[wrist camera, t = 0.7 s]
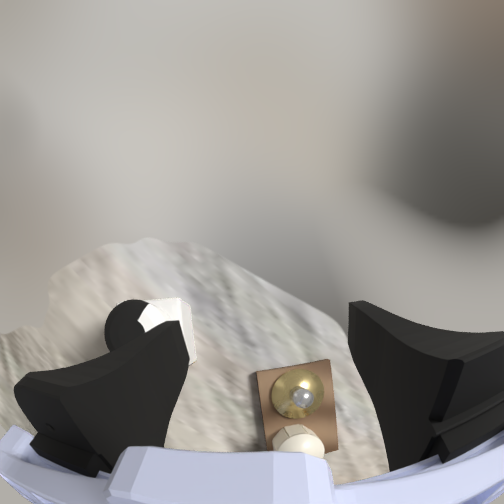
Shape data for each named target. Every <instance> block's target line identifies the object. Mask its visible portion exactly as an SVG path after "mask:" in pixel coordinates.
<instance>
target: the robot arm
mask: <svg viewBox="0 0 504 504" xmlns="http://www.w3.org/2000/svg"><path fill="white" fill-rule="evenodd" d="M348 345H349V349H350V352H351V355H352V358H353V361H354V363H355V366H356V368H357V370H358V372H359V374H360V376H361V378H362V380H363V382H364V384H365V387H366V389H367V391H368V393H369V395H370V397H371V399H372V402H373V404H374V407H375V410H376V414H377V417H378V420H379V424H380V428H381V431H382V435H383V439H384V444H385V448H386V453H387V458H388V463H389V470H390V472H388V473H385V474H382V475H378V476H375V477H371V478H367V479H363V480H359V481H355V482H350V483H345V484H340V485H334V483H333V477H332V471H331V469H330V467H329V465H328V463H327V462H326V460H324V459H321V458H318V457H315V456H312V455H309V454H306V453H303V452H289V451H262V452H207V451H191V450H180V449H170V448H164V443H165V438H166V433H167V429H168V425H169V421H170V418H171V415H172V412H173V410H174V407H175V404H176V402H177V399H178V397H179V394H180V392H181V389H182V387H183V384H184V381H185V379H186V375H187V371H188V366H189V361H190V357H189V354H188V350H187V347H186V343H185V340H184V336H183V333H182V329H181V325H180V321H179V320H174V321H165V322H163V323H161V324H159V325H157V326H155V327H154V328H152V329H150V330H149V331H147V332H145V333H144V334H142V335H141V336H139V337H137V338H136V339H134V340H132V341H130V342H129V343H127V344H125V345H123V346H122V347H120V348H118V349H116V350H114V351H112V352H110V353H108V354H105V355H103V356H101V357H98V358H96V359H93V360H90V361H87V362H84V363H81V364H78V365H74V366H70V367H66V368H61V369H55V370H48V371H38V372H29V373H27V374H26V375H25V376H24V377H23V378H22V379H21V380H20V381H19V382H18V383H17V384H16V385H15V387H14V394H15V398H16V400H17V403H18V404H19V406H20V408H21V409H22V411H23V412H24V414H25V415H26V417H27V418H28V420H29V421H30V422H31V424H32V425H33V426H34V428H35V429H36V430H37V432H38V433H37V434H36V436H35V437H34V436H33V435H32V434H30V433H29V432H27V431H26V430H24V429H22V428H20V427H18V426H16V425H12V426H11V428H10V429H9V430H8V431H7V433H6V434H5V435H4V436H3V437H2V439H1V440H0V476H1V477H2V478H3V479H4V480H5V481H6V482H7V483H9V484H10V485H11V486H12V487H13V488H14V489H15V490H16V491H17V492H18V493H20V494H21V495H22V496H23V497H25V498H26V499H27V500H29V501H30V502H32V503H33V504H489V503H490V502H492V501H493V500H495V499H496V498H497V497H499V496H500V495H501V494H503V493H504V332H503V331H501V332H486V333H470V332H469V333H468V332H456V331H449V330H443V329H437V328H433V327H429V326H425V325H421V324H418V323H415V322H412V321H410V320H407V319H404V318H402V317H399V316H397V315H395V314H392V313H390V312H388V311H386V310H384V309H382V308H379V307H377V306H375V305H373V304H371V303H368V302H366V301H356V302H350V303H349V329H348Z"/></svg>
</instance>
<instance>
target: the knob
mask: <svg viewBox="0 0 504 504" xmlns="http://www.w3.org/2000/svg"><path fill="white" fill-rule="evenodd" d="M323 397H324V386H323V383H322V381H321V379H320V378H319V377H318V376H317V375H316V374H315V373H313V372H312V371H309V370H306V369H293V370H290V371H287V372H285V373H284V374H282V375H281V376H280V377H279V378H278V379H277V380H276V382H275V384H274V385H273V388H272V393H271V398H272V402H273V405H274V407H275V408H276V410H277V411H278V412H279V413H280V414H282V415H283V416H285V417H288V418H294V419H297V418H303V417H306V416H308V415H310V414H312V413H313V412H315V411H316V410H317V409H318V407H319V406H320V405H321V403H322V400H323Z"/></svg>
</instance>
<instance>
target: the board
mask: <svg viewBox="0 0 504 504" xmlns="http://www.w3.org/2000/svg"><path fill="white" fill-rule="evenodd" d="M293 369H306V370H309V371H312V372H313V373H315V374H316V375H317V376H318V377H319V378H320V379H321V381H322V383H323V386H324V397H323V400H322V403H321V405H320V406H319V407H318V409H317V410H316V411H315V412H313V413H312V414H310V415H308V416H306V417H303V418H297V419H294V418H288V417H285V416H283V415H282V414H280V413H279V412H278V411H277V410H276V408H275V407H274V405H273V402H272V398H271V393H272V388H273V385H274V384H275V382H276V380H277V379H278V378H279V377H280V376H281V375H282V374H284V373H285V372H287V371H290V370H293ZM256 374H257V381H258V389H259V396H260V403H261V410H262V418H263V425H264V432H265V439H266V446H267V451H274V450H273V443H272V440H273V438H274V437H275V436H276V434H277V433H278V432H279V431H280V430H281V429H282V428H284V427H285V426H291V425H296V424H300V425H301V424H302V425H304V426H305V427H307V428H309V429H310V430H312V431H313V432H314V433H315V434H316V435H317V436H318V438H319V439H320V440H321V441H322V443H323V445H324V449H325V452H324V454H325V453H328V452H332V451H336V450H338V436H337V423H336V412H335V401H334V391H333V382H332V373H331V365H330V360H329V359H324V360H320V361H315V362H310V363H304V364H299V365H294V366H288V367H282V368H275V369H269V370H262V371H256Z"/></svg>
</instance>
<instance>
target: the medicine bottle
mask: <svg viewBox="0 0 504 504" xmlns="http://www.w3.org/2000/svg"><path fill="white" fill-rule="evenodd" d="M174 320H179V321H180V325H181V329H182V333H183V336H184V340H185V343H186V347H187V350H188V354H189V357H190V361H189V366H190V365H191V364H193V363H194V362H196V360H197V357H196V350H195V342H194V333H193V325H192V315H191V307H190V305H188V304H187V303H186V302H184V301H183V300H181V299H180V298H177V297H176V298H165V299H154V300H127V301H124V302H119V303H117V304H116V307H115V308H114V309H113V310H112V311H111V312H110V314H109V316H108V318H107V320H106V324H105V341H106V344H107V347H108V349H109V351H110V352H112V351H114V350H116V349H118V348H120V347H122V346H123V345H125V344H127V343H129V342H130V341H132V340H134V339H136V338H137V337H139V336H141V335H142V334H144V333H145V332H147V331H149V330H150V329H152V328H154V327H155V326H157V325H159V324H161V323H163V322H165V321H174Z"/></svg>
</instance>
